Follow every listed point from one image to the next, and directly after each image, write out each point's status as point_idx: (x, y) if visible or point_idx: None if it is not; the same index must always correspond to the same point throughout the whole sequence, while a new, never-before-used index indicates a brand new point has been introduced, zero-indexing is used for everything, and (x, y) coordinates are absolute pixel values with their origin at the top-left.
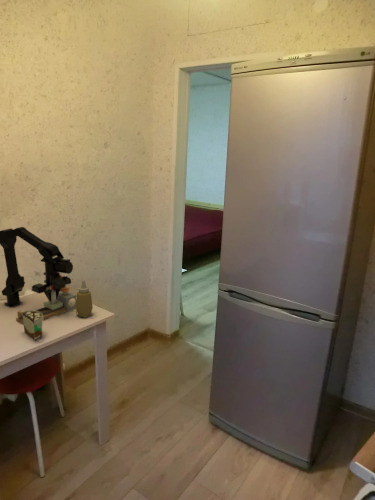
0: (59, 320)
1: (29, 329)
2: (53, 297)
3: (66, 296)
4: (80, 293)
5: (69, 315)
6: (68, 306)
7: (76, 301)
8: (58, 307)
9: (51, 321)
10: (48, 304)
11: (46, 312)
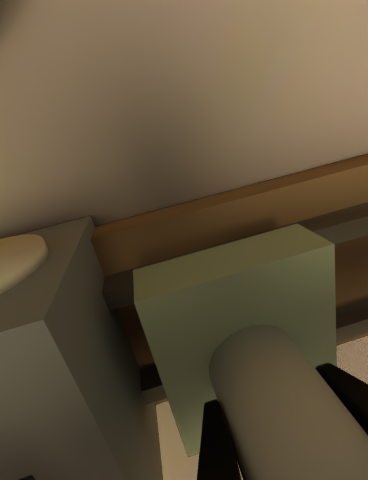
0: (278, 14)
1: None
2: (334, 421)
3: (7, 421)
4: None
5: (111, 74)
6: (54, 241)
7: None
8: (206, 251)
9: (351, 60)
10: (335, 327)
11: (365, 213)
